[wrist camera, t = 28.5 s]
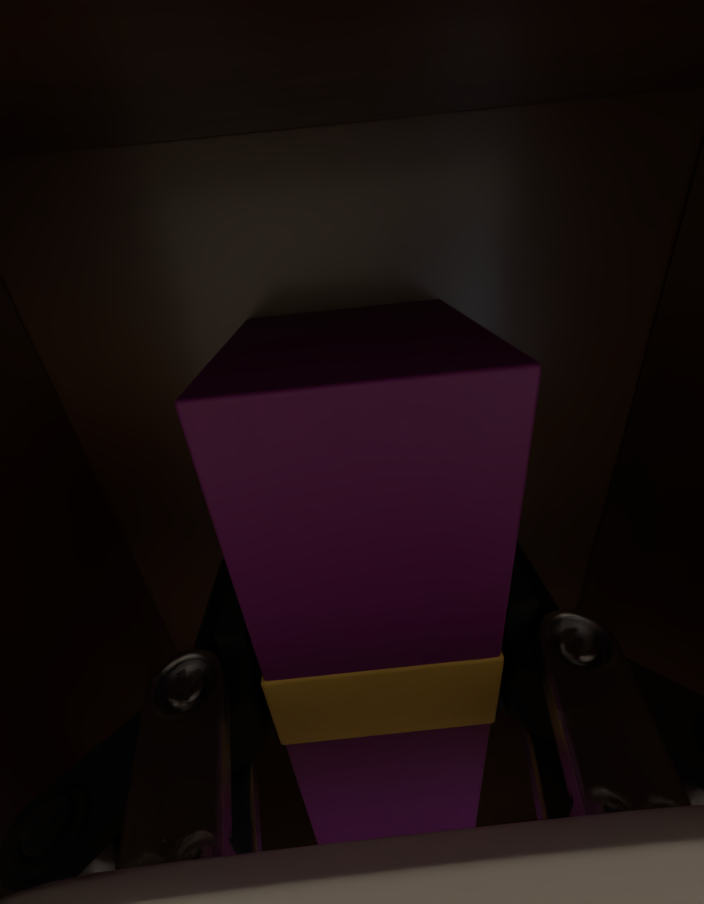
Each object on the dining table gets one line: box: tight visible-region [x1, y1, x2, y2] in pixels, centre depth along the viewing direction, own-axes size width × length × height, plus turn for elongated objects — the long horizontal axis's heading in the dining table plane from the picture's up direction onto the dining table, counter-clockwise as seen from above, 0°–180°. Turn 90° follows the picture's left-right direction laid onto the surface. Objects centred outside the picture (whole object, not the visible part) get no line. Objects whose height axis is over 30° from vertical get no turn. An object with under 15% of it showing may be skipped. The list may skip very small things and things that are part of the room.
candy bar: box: [175, 299, 542, 845], centre depth 9 cm, size 4×12×5 cm, turn 5°
